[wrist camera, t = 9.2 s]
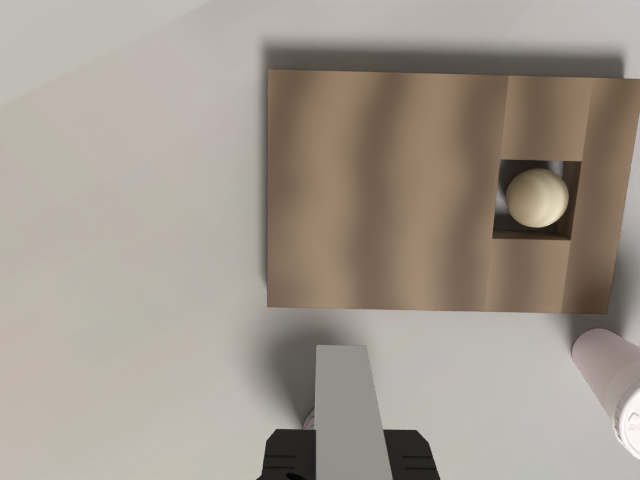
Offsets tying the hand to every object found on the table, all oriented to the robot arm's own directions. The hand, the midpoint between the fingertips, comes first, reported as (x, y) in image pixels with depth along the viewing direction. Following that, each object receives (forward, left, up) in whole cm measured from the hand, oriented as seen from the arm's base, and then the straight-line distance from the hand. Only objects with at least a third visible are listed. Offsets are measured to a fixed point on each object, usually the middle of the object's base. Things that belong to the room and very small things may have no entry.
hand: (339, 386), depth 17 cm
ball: (-14, -2, -22) cm, 27 cm away
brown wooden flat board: (-8, -2, -24) cm, 26 cm away
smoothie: (-21, +10, -25) cm, 34 cm away
